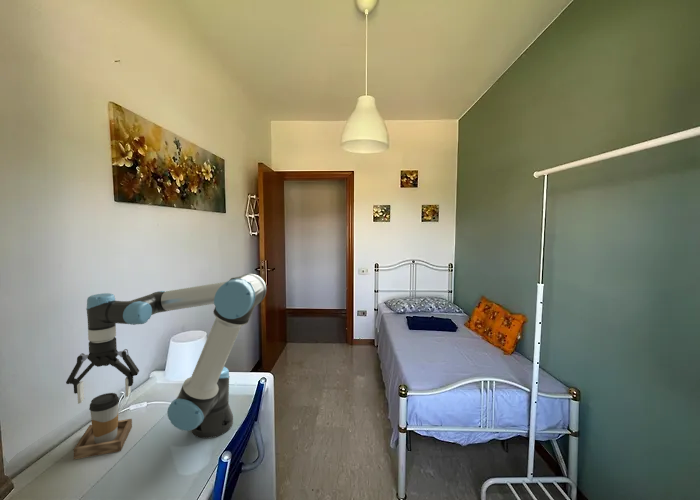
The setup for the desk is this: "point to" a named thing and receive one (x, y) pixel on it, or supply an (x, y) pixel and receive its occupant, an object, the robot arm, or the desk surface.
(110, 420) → the coffee cup
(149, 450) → the desk surface
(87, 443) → the tray
